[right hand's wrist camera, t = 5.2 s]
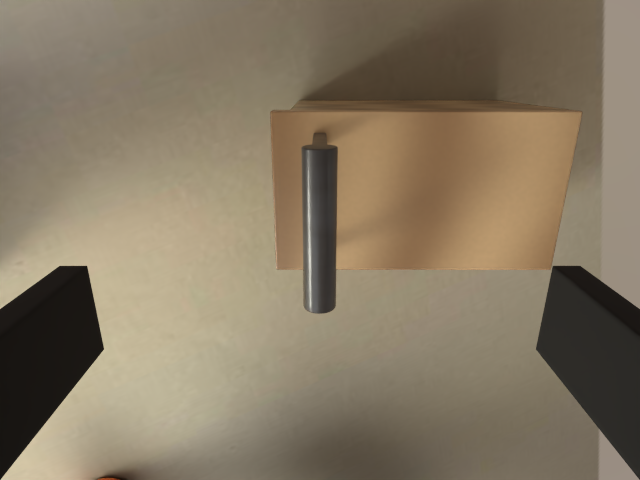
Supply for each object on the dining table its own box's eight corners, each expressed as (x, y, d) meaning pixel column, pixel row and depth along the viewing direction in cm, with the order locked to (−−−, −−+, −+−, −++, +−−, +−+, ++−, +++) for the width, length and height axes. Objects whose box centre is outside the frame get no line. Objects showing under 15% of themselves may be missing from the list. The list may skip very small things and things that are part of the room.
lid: (277, 261, 27) (261, 332, 20) (272, 109, 24) (250, 124, 17) (541, 262, 27) (625, 332, 20) (571, 109, 24) (684, 124, 17)
